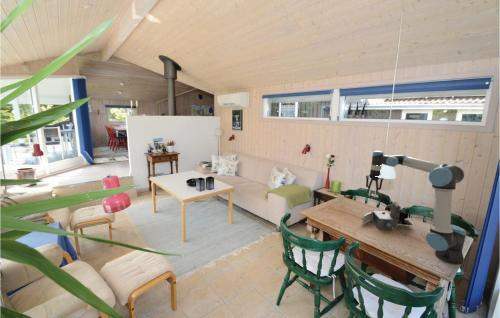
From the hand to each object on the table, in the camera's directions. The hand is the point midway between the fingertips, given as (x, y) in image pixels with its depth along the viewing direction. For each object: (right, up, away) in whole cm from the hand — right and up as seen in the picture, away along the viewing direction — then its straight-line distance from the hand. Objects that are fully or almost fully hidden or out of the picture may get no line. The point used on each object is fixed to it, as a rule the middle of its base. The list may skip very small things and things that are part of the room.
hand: (372, 196), depth 202 cm
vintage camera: (+27, -27, +5) cm, 38 cm away
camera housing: (+11, -26, +6) cm, 29 cm away
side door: (0, -25, +11) cm, 27 cm away
